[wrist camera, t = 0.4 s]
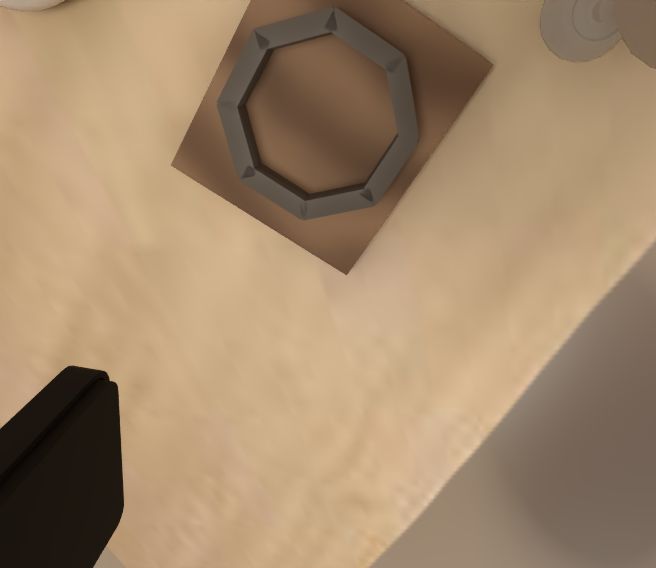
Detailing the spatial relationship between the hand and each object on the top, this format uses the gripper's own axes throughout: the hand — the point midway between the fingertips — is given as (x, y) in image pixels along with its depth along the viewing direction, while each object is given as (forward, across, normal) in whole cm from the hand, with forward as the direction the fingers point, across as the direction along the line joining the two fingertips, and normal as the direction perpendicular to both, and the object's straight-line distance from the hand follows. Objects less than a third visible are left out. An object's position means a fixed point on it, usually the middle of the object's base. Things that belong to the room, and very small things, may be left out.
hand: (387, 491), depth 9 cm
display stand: (+29, +5, -2) cm, 30 cm away
